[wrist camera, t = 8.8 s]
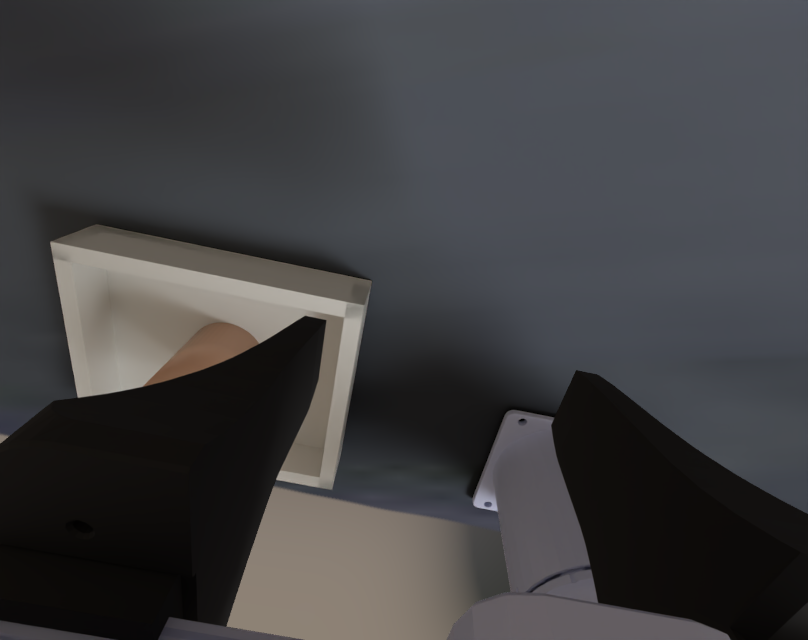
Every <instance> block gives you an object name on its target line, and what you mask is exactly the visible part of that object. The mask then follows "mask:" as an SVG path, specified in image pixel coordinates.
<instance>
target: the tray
mask: <svg viewBox="0 0 808 640" xmlns="http://www.w3.org/2000/svg"><path fill="white" fill-rule="evenodd" d="M50 244H51V250H52V255H53V261H54V267H55V272H56V278H57V283H58V289H59V295H60V300H61V306H62V311H63V317H64V323H65V328H66V334H67V340H68V345H69V351H70V356H71V362H72V368H73V373H74V379H75V384H76V390H77V396H78V398H80V397H87V396H94V395H101V394H108V393H113V392H119V391H124V390H129V389H134V388H139V387H143V386H144V385H145V384H146V383H147V382H148V381H149V380H150V379H151V378H152V377H153V376H154V375H155V374H156V373H157V372H158V371H159V370H160V369H161V368H162V367H163V366H164V365H165V364H166V363H167V362H168V361H169V360H170V359H171V358H172V357H173V356H174V355H175V354H176V353H177V352H178V351H179V350H180V348H181V347H182V346H183V345H184V344H185V343H186V342H187V341H188V340H189V339H190V338H191V337H192V336H193V335H194V334H195V333H196V332H197V331H198V330H200V329H201V328H202V327H204V326H206V325H208V324H212V323H218V322H223V323H230V324H233V325H236V326H239V327H241V328H243V329H244V330H246V331H247V332H249V333H250V334H251V335H252V336H253V337H254V338H255V339H256V340H257V341H258V343H259V344H260V343H262V342H263V341H265V340H267V339H268V338H270V337H272V336H273V335H275V334H277V333H278V332H280V331H281V330H283V329H284V328H286V327H288V326H289V325H291V324H292V323H294V322H295V321H297V320H299V319H300V318H302V317H304V316H309V317H314V318H319V319H324V320H327V321H326V328H325V336H324V343H323V350H322V358H321V365H320V373H319V380H318V383H317V386H316V390H315V393H314V396H313V399H312V402H311V405H310V408H309V410H308V413H307V415H306V417H305V419H304V421H303V423H302V426H301V428H300V430H299V432H298V434H297V436H296V438H295V440H294V442H293V444H292V447H291V449H290V451H289V453H288V455H287V457H286V459H285V461H284V463H283V465H282V468H281V470H280V472H279V474H278V476H277V479H276V480H281V481H286V482H292V483H297V484H303V485H308V486H313V487H319V488H324V489H330V490H332V487H333V483H334V479H335V475H336V471H337V467H338V463H339V459H340V455H341V451H342V445H343V440H344V434H345V429H346V423H347V418H348V412H349V406H350V401H351V395H352V390H353V384H354V379H355V373H356V367H357V362H358V356H359V351H360V345H361V340H362V334H363V329H364V323H365V317H366V312H367V306H368V301H369V295H370V290H371V284H372V281H370V280H365V279H360V278H356V277H351V276H346V275H341V274H336V273H331V272H327V271H322V270H317V269H312V268H307V267H302V266H297V265H293V264H288V263H283V262H278V261H273V260H268V259H263V258H259V257H254V256H249V255H244V254H239V253H234V252H230V251H225V250H220V249H215V248H210V247H205V246H200V245H196V244H191V243H186V242H181V241H176V240H171V239H166V238H162V237H157V236H152V235H147V234H142V233H137V232H133V231H128V230H123V229H118V228H113V227H108V226H103V225H99V224H95V225H93V226H90V227H87V228H85V229H82V230H79V231H77V232H74V233H72V234H69V235H66V236H64V237H61V238H58V239H56V240H53V241H51V242H50Z"/></svg>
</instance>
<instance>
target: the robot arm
mask: <svg viewBox="0 0 808 640" xmlns="http://www.w3.org/2000/svg"><path fill="white" fill-rule="evenodd" d="M326 321H327V320H324V319H319V318H314V317H309V316H304V317H302V318H300V319H299V320H297V321H295V322H294V323H292V324H291V325H289V326H288V327H286V328H284V329H283V330H281V331H280V332H278V333H277V334H275V335H273V336H272V337H270V338H268V339H267V340H265V341H263V342H262V343H260V344H258V345H256V346H254V347H252V348H250V349H248V350H246V351H244V352H242V353H240V354H239V355H237V356H234V357H232V358H230V359H228V360H225V361H223V362H221V363H218V364H216V365H213V366H210V367H208V368H205V369H203V370H200V371H197V372H193V373H190V374H187V375H184V376H180V377H177V378H174V379H171V380H167V381H164V382H160V383H156V384H152V385H148V386H143V387H139V388H134V389H129V390H124V391H119V392H113V393H108V394H101V395H94V396H87V397H80V398H73V399H65V400H56V401H53V402H52V403H51V404H49V405H48V406H47V407H45V408H44V409H43V410H42V411H40V412H39V413H38V414H37V415H35V416H34V417H33V418H32V419H30V420H29V421H28V422H27V423H25V424H24V425H23V426H22V427H20V428H19V429H18V430H17V431H15V432H14V433H13V434H12V435H10V436H9V437H8V438H7V439H6V440H5V441H3V442H2V443H1V444H0V640H302V639H296V638H290V637H284V636H279V635H273V634H267V633H261V632H255V631H249V630H243V629H237V628H231V627H226V626H227V622H228V619H229V616H230V613H231V610H232V606H233V603H234V600H235V597H236V594H237V591H238V588H239V585H240V582H241V579H242V576H243V573H244V570H245V567H246V563H247V560H248V558H249V555H250V552H251V548H252V546H253V543H254V540H255V537H256V534H257V531H258V528H259V525H260V522H261V519H262V517H263V514H264V511H265V508H266V505H267V502H268V499H269V497H270V494H271V491H272V488H273V486H274V484H275V481H276V479H277V476H278V474H279V472H280V470H281V468H282V465H283V463H284V461H285V459H286V457H287V455H288V453H289V451H290V449H291V447H292V444H293V442H294V440H295V438H296V436H297V434H298V432H299V430H300V428H301V426H302V423H303V421H304V419H305V417H306V415H307V413H308V410H309V408H310V405H311V402H312V399H313V396H314V393H315V390H316V386H317V383H318V380H319V373H320V365H321V358H322V350H323V343H324V336H325V328H326ZM520 419H525V420H524V421H519V420H520ZM472 500H473V504H474V506H476V507H478V508H483V509H488V510H494V511H498V516H499V522H500V528H501V534H502V540H503V547H504V553H505V559H506V565H507V570H508V577H509V583H510V589H511V592H505V593H502V594H499V595H496V596H493V597H490V598H487V599H484V600H481V601H477V602H476V603H475V604H473V606H472V607H471V608H470V609H468V610H467V612H465V613H464V614H463V616H461V617H460V618H459V619H458V621H457V622H456V623H454V625H453V627H452V629H451V631H450V634H449V636H448V638H447V640H808V514H807V513H805V512H803V511H801V510H799V509H797V508H795V507H793V506H791V505H789V504H787V503H785V502H783V501H781V500H780V499H778V498H776V497H774V496H772V495H771V494H769V493H767V492H765V491H763V490H762V489H760V488H758V487H756V486H754V485H753V484H751V483H749V482H747V481H746V480H744V479H742V478H741V477H739V476H737V475H736V474H734V473H732V472H731V471H729V470H728V469H726V468H725V467H723V466H721V465H720V464H718V463H717V462H715V461H714V460H712V459H711V458H709V457H707V456H706V455H704V454H703V453H702V452H700V451H699V450H697V449H696V448H694V447H693V446H691V445H690V444H689V443H687V442H686V441H685V440H683V439H682V438H680V437H679V436H678V435H676V434H675V433H674V432H672V431H671V430H670V429H668V428H667V427H666V426H664V425H663V424H662V423H660V422H659V421H658V420H657V419H655V418H654V417H653V416H651V415H650V414H649V413H648V412H646V411H645V410H644V409H643V408H641V407H640V406H639V405H638V404H636V403H635V402H634V401H633V400H631V399H630V398H629V397H628V396H626V395H625V394H624V393H622V392H621V391H620V390H619V389H617V388H616V387H615V386H613V385H612V384H611V383H609V382H608V381H606V380H605V379H604V378H602V377H600V376H599V375H597V374H592V373H587V372H582V371H577V370H576V372H575V374H574V376H573V378H572V381H571V383H570V385H569V387H568V389H567V392H566V394H565V396H564V398H563V400H562V402H561V405H560V407H559V409H558V411H557V413H556V416H555V418H554V417H549V416H544V415H539V414H534V413H529V412H523V411H518V410H510V411H508V412H507V413H506V414H505V416H504V418H503V421H502V423H501V426H500V429H499V431H498V434H497V436H496V439H495V441H494V444H493V446H492V449H491V452H490V454H489V457H488V459H487V462H486V464H485V467H484V470H483V472H482V475H481V477H480V480H479V482H478V485H477V487H476V490H475V493H474V495H473V499H472Z"/></svg>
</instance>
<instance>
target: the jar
mask: <svg viewBox="0 0 808 640" xmlns="http://www.w3.org/2000/svg"><path fill="white" fill-rule="evenodd" d="M258 344H259V343H258V341H257V340H256V339H255V338H254V337H253V336H252V335H251V334H250V333H249V332H247V331H246V330H244V329H243V328H241V327H239V326H236V325H233V324H230V323H223V322H218V323H212V324H208V325H206V326H204V327H202V328H201V329H200V330H198V331H197V332H196V333H195V334H194V335H193V336H192V337H191V338H190V339H189V340H188V341H187V342H186V343H185V344H184V345H183V346H182V347H181V348H180V350H179V351H178V352H177V353H176V354H175V355H174V356H173V357H172V358H171V359H170V360H169V361H168V362H167V363H166V364H165V365H164V366H163V367H162V368H161V369H160V370H159V371H158V372H157V373H156V374H155V375H154V376H153V377H152V378H151V379H150V380H149V381H148V382H147V383H146V384H145V385H144V386H148V385H152V384H156V383H160V382H164V381H167V380H171V379H174V378H177V377H180V376H184V375H187V374H190V373H193V372H197V371H200V370H203V369H205V368H208V367H210V366H213V365H216V364H218V363H221V362H223V361H225V360H228V359H230V358H232V357H234V356H237V355H239V354H240V353H242V352H244V351H246V350H248V349H250V348H252V347H254V346H256V345H258Z"/></svg>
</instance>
